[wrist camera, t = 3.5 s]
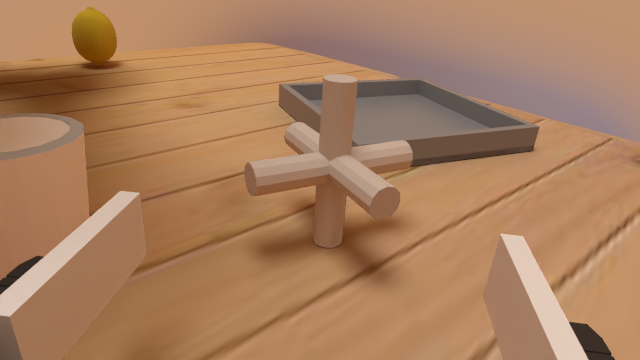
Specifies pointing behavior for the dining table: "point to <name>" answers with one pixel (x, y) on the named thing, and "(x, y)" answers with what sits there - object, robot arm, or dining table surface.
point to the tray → (418, 119)
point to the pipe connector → (333, 165)
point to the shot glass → (39, 185)
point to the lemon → (94, 36)
